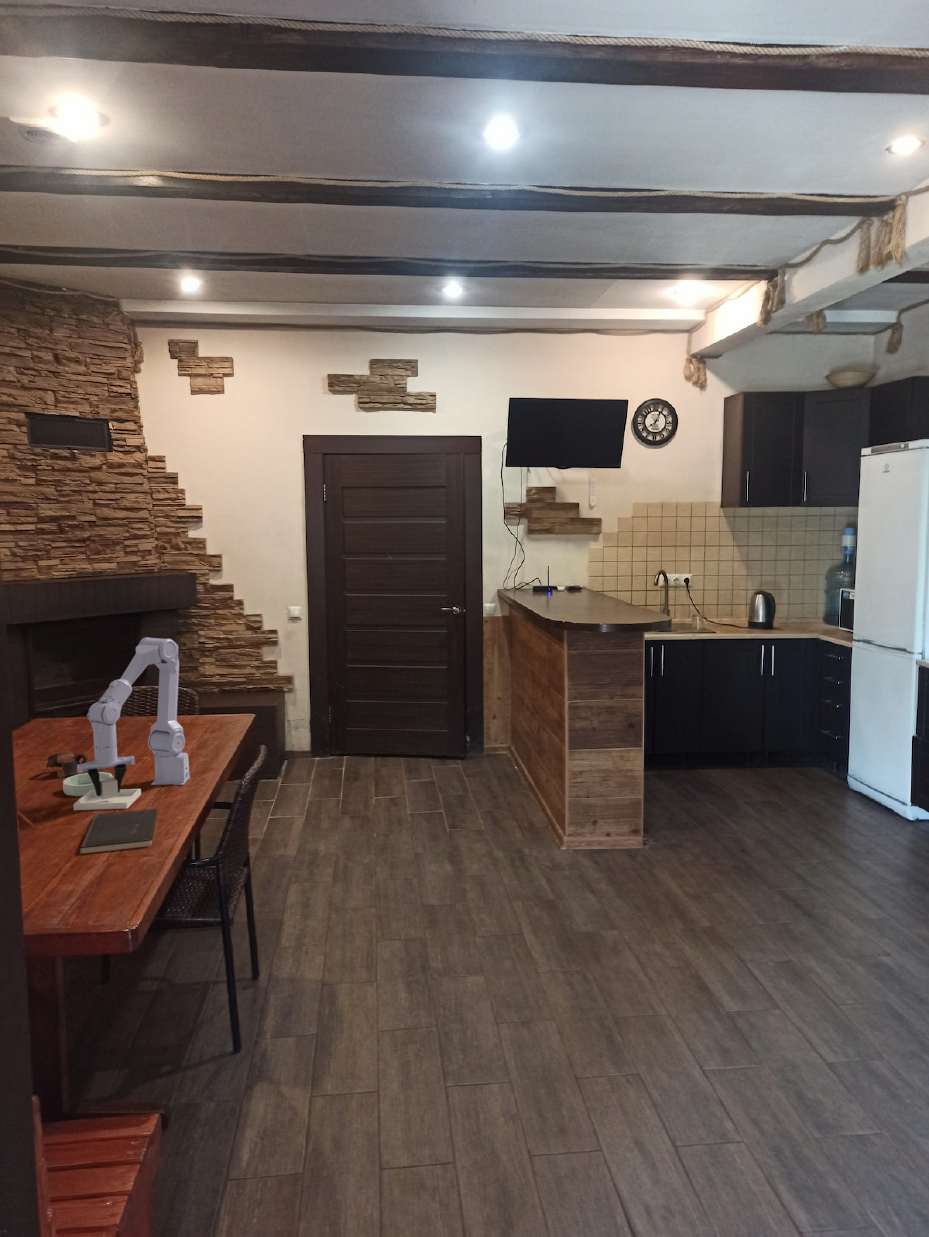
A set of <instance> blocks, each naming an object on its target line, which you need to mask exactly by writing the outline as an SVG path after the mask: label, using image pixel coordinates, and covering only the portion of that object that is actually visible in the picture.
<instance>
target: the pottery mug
mask: <svg viewBox="0 0 929 1237" xmlns="http://www.w3.org/2000/svg"><path fill="white" fill-rule="evenodd" d="M46 760H47V764H46V765H45V766H46V767H45V768H46V769H47V768H62V769H60V770H59V771H57V772H56V774H57V776H58V779H62V778H65V777H71V776H75V775H78V774H79V773H78V771H77V765H78V764H83V763H87V762H89V757H88V754H86V753H84V752H83V753H82V752H80V753H78V754H73V751H72V750H64V751H61V752H57V753H54V754H52V755H50V756H48V757H47V758H46ZM80 760H82V762H81V763H80Z"/></svg>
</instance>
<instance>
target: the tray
mask: <svg viewBox="0 0 929 1237" xmlns="http://www.w3.org/2000/svg"><path fill="white" fill-rule="evenodd" d="M141 795H142V789H141V788H130V789H129V788H127V789H126V788H124V789H121V788H120V792H119V793H118V796H117V797H113V798H108V799H104V800H103V799H102V798H100V797H99V796H97V795H96V791H95V790H90V791H89V792H88V793H86V794H85V795H84V796H81V797H80V798H79V799H78V800H77V801H75V802H74V803H73V811H92V810H97V811H98V810H122V809H123V810H125V809H129V807H130V806H131V805H132V804H133V803H134V802H136V800H138V799H139V798H140V796H141Z"/></svg>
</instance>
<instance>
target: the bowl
mask: <svg viewBox="0 0 929 1237" xmlns="http://www.w3.org/2000/svg"><path fill="white" fill-rule="evenodd" d="M98 773H99V780H100V779H105V778H110V777H113V778H114V776H113V775H112V773H111V772H103V771H102V772H101V771H98ZM62 787H63V793H64V794H65V795H67V796H73V797H83V796H84V795H85V794H86V793H88V792H89V791H90V790H95V787H94V784H93V782H92V780H91V778H90V776H89V774H88V773H87V772H85V773H84V772H83V773H78V774H77V775H71V776H67V777H66V778H65V779H64V780H63V781H62Z"/></svg>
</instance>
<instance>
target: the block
mask: <svg viewBox="0 0 929 1237" xmlns="http://www.w3.org/2000/svg"><path fill="white" fill-rule="evenodd" d="M99 786H100V796H99V797H100V798H102V799H103V800H104V799H108V798H113V797H117V796H118V784H117V780H116V779H115V777H114V776H113V777H110V778H105V779H100V780H99Z"/></svg>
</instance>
